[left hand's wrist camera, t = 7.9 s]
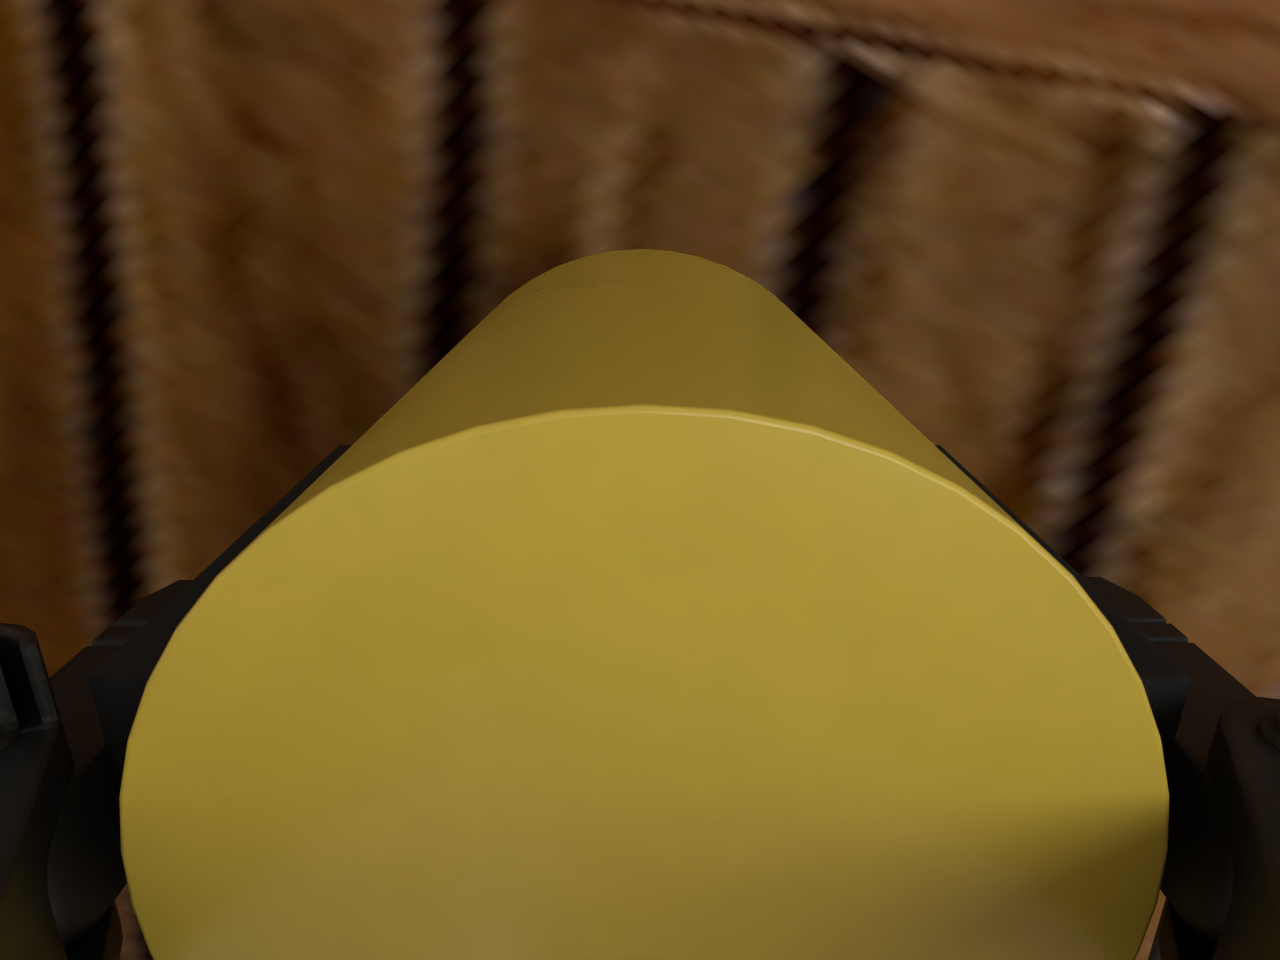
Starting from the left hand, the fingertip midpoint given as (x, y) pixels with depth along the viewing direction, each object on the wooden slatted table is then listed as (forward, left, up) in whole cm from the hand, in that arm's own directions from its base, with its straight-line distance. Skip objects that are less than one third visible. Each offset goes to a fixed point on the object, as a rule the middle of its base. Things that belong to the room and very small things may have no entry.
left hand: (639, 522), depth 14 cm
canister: (0, 0, -3) cm, 3 cm away
